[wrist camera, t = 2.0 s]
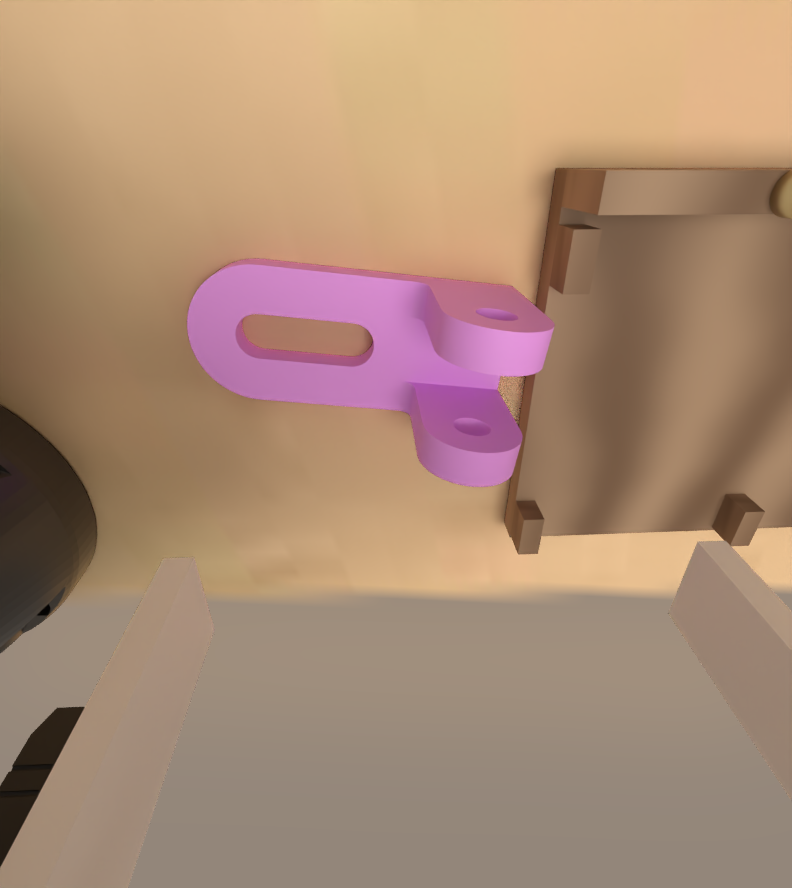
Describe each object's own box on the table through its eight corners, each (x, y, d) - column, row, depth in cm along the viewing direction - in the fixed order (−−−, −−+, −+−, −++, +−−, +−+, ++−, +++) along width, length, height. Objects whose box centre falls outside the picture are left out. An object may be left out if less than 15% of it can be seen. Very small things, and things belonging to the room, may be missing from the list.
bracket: (511, 285, 20) (571, 337, 14) (484, 404, 23) (525, 489, 17) (191, 250, 19) (111, 291, 13) (203, 381, 22) (141, 465, 16)
